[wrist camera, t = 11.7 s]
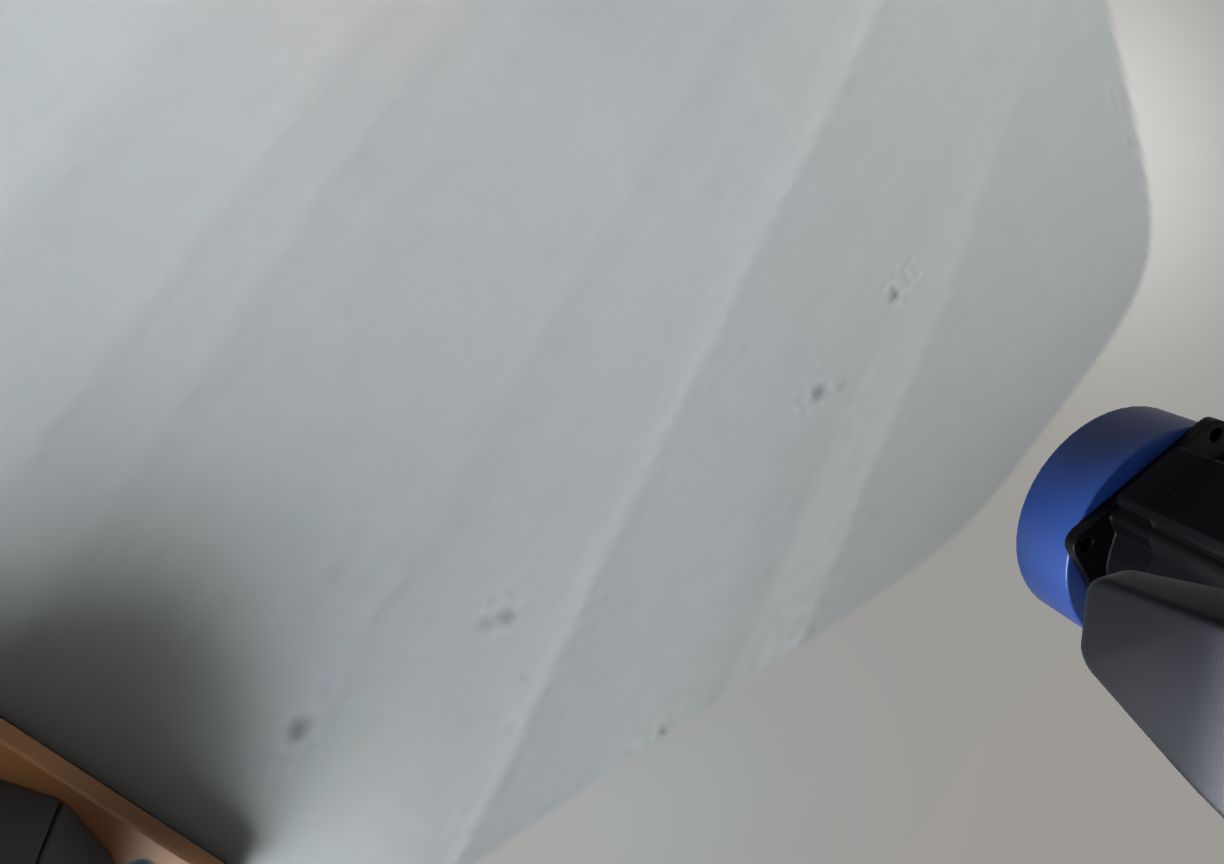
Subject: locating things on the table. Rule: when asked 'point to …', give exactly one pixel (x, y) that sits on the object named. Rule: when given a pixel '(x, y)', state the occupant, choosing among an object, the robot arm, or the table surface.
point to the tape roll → (44, 831)
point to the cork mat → (94, 804)
